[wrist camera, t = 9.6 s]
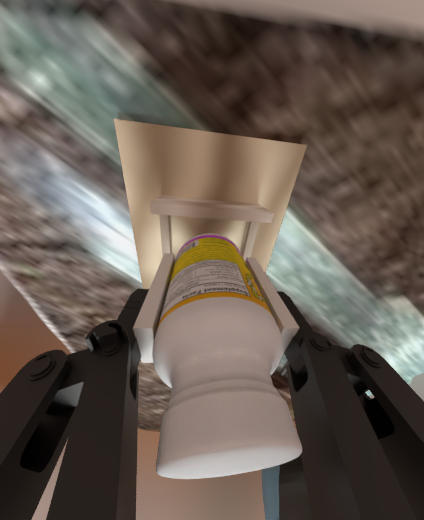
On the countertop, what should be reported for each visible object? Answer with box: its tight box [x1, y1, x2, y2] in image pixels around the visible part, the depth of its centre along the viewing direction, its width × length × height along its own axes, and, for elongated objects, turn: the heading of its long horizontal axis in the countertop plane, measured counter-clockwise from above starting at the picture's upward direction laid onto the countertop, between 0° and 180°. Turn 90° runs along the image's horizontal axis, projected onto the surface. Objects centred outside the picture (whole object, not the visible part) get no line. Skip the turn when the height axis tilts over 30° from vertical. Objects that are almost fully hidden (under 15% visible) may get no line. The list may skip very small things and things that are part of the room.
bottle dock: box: [114, 119, 307, 289], centre depth 16 cm, size 16×20×5 cm
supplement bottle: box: [152, 233, 302, 479], centre depth 9 cm, size 6×6×11 cm
